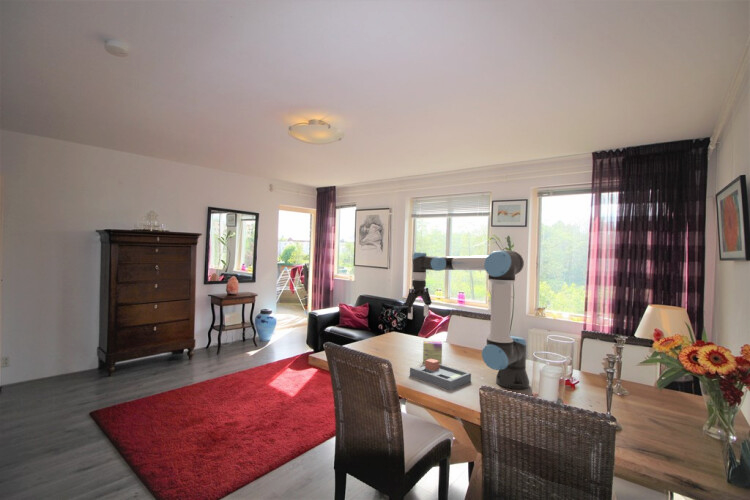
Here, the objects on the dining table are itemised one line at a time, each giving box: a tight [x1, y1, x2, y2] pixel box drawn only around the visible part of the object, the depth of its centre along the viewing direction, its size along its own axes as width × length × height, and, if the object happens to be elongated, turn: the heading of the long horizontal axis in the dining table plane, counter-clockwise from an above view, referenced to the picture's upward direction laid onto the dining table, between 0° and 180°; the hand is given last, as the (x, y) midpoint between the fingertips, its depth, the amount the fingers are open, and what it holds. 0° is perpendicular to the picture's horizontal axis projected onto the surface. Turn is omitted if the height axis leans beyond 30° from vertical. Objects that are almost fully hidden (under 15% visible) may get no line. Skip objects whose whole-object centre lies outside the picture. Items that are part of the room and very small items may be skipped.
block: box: [424, 359, 439, 371], centre depth 186 cm, size 6×5×4 cm
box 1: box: [422, 340, 443, 365], centre depth 204 cm, size 10×6×12 cm, turn 84°
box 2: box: [409, 364, 472, 391], centre depth 179 cm, size 25×17×4 cm
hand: (418, 317), depth 200 cm, fingers open, 13 cm apart
